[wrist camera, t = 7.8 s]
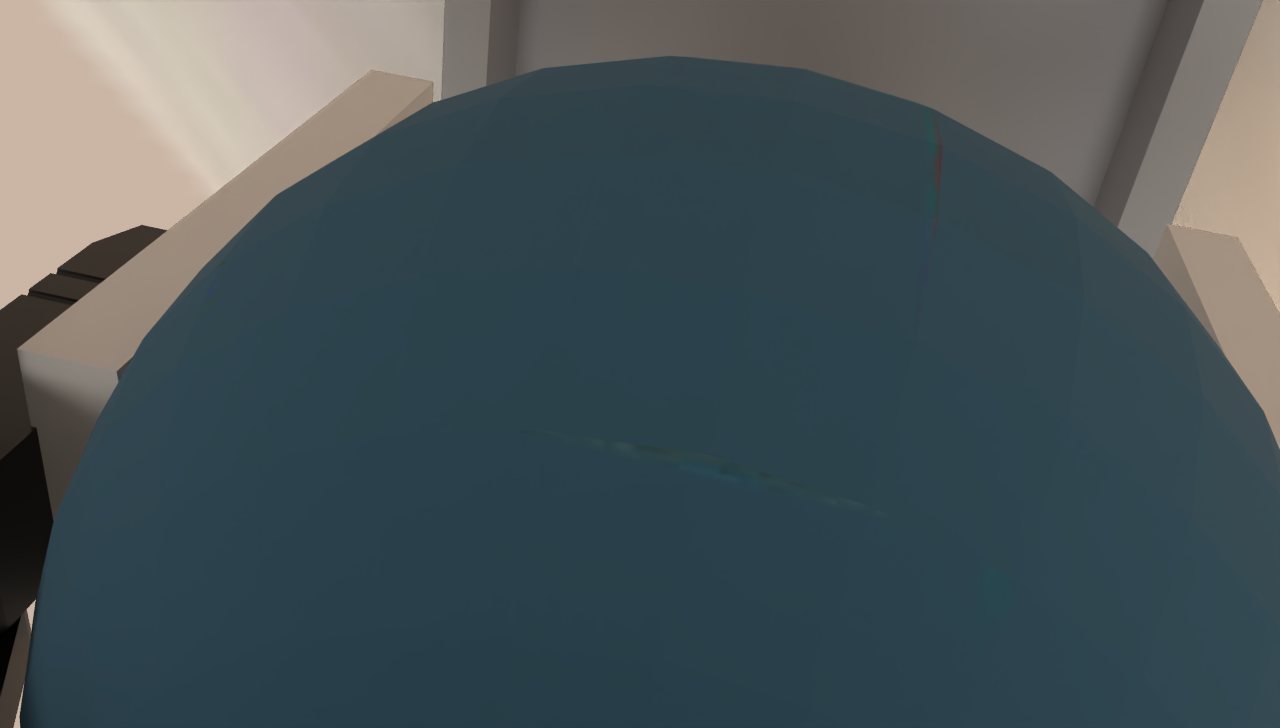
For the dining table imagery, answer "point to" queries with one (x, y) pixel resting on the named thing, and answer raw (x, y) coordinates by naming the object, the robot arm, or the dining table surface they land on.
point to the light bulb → (670, 440)
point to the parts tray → (933, 69)
